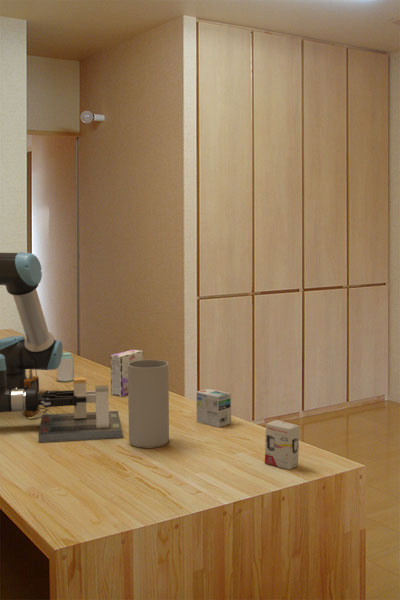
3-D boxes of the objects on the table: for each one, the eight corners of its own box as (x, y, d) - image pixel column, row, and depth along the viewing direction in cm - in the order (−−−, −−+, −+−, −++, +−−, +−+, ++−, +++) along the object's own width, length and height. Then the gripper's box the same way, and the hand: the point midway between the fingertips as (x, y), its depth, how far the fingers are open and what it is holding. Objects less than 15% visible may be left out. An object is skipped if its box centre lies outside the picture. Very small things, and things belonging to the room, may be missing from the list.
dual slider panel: (42, 421, 241) (41, 377, 239) (118, 417, 245) (117, 374, 243) (38, 442, 218) (37, 393, 216) (122, 437, 223) (121, 389, 221)
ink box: (263, 463, 199) (264, 423, 197) (273, 459, 202) (274, 419, 201) (289, 470, 193) (290, 429, 192) (299, 465, 197) (300, 425, 195)
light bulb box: (232, 423, 238) (232, 392, 236) (218, 428, 233) (218, 396, 232) (208, 417, 245) (208, 387, 244) (195, 421, 240) (195, 391, 239)
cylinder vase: (138, 451, 210) (137, 369, 207) (123, 439, 221) (121, 362, 218) (175, 444, 215) (175, 365, 213) (159, 433, 226) (158, 358, 224)
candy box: (133, 388, 289) (132, 348, 287) (144, 390, 285) (143, 350, 283) (110, 394, 277) (109, 354, 276) (121, 397, 274) (120, 355, 272)
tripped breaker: (74, 415, 238) (73, 377, 237) (86, 414, 239) (85, 377, 237) (74, 418, 234) (73, 380, 233) (86, 418, 235) (85, 379, 234)
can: (55, 382, 300) (54, 354, 298) (60, 378, 307) (60, 351, 305) (70, 382, 298) (70, 355, 297) (76, 379, 305) (75, 352, 304)
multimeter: (46, 420, 242) (44, 364, 240) (19, 419, 244) (17, 363, 242) (62, 409, 256) (61, 356, 254) (37, 408, 258) (35, 355, 256)
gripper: (23, 395, 224) (96, 391, 228) (26, 383, 241) (95, 380, 245) (23, 418, 225) (97, 414, 229) (27, 404, 242) (95, 401, 246)
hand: (95, 396), depth 237 cm, fingers closed on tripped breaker, 4 cm apart
